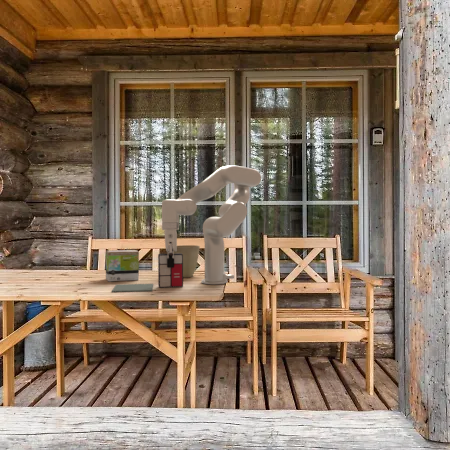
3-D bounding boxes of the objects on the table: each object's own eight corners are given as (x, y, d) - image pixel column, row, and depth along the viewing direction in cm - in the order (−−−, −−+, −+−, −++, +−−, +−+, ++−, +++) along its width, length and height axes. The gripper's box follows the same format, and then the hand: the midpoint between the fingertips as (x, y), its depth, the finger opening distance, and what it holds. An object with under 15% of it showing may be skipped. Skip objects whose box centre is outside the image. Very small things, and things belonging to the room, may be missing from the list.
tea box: (108, 282, 215) (107, 251, 214) (105, 279, 224) (105, 250, 223) (139, 280, 220) (139, 250, 220) (135, 277, 229) (135, 249, 229)
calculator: (158, 288, 198) (158, 254, 198) (158, 286, 202) (158, 253, 202) (183, 287, 200) (183, 254, 200) (182, 285, 204) (182, 253, 204)
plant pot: (201, 274, 240) (201, 245, 239) (197, 278, 225) (197, 247, 224) (174, 274, 241) (174, 244, 241) (168, 278, 226) (168, 247, 226)
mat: (153, 285, 206) (153, 283, 206) (152, 291, 190) (152, 289, 190) (116, 285, 204) (116, 284, 204) (111, 292, 188) (111, 290, 188)
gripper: (179, 227, 192) (179, 269, 193) (178, 225, 209) (178, 264, 210) (161, 227, 191) (162, 269, 192) (162, 225, 208) (162, 264, 209)
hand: (170, 266), depth 201 cm, fingers closed on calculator, 4 cm apart
